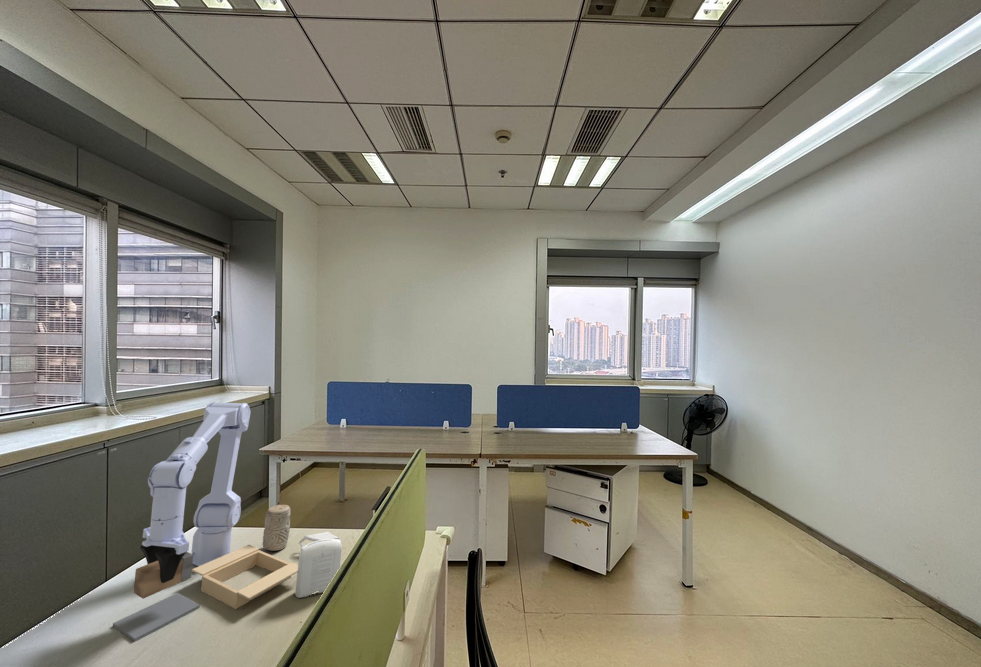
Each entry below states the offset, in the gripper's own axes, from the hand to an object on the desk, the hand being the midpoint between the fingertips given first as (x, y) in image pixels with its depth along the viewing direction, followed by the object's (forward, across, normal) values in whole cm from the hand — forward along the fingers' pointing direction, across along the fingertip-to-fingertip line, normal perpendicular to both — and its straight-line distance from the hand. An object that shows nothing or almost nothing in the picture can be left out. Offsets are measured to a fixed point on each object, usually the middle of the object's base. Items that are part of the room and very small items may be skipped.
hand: (161, 577), depth 86 cm
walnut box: (+2, 0, -1) cm, 2 cm away
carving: (+9, -5, +32) cm, 34 cm away
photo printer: (+9, +22, +24) cm, 34 cm away
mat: (+8, 0, 0) cm, 8 cm away
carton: (+8, +5, +17) cm, 20 cm away
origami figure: (+9, +8, +37) cm, 39 cm away
